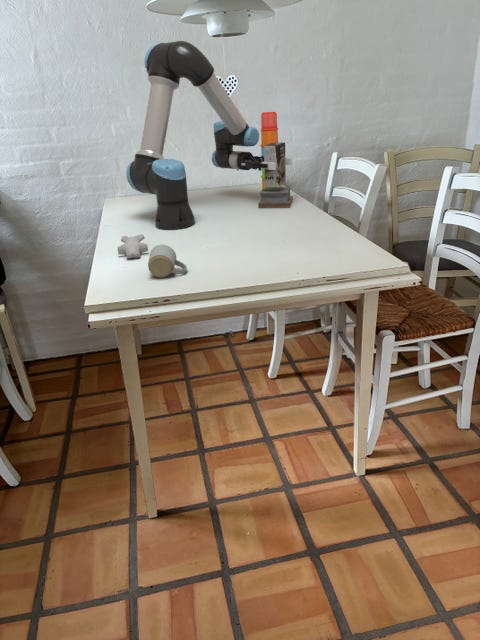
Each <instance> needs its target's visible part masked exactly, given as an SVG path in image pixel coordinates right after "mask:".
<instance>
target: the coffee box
mask: <svg viewBox="0 0 480 640" xmlns="http://www.w3.org/2000/svg"><path fill="white" fill-rule="evenodd" d="M285 158H286V142H278V143H270V144H267V145H265V146H264V162H274V163H276V170H269V169H265V186H268V187H279V186H281V187H282V185H284V184H286V183H287V178H286V177H287V175H286V174H287V173H286V166H287V165H286V163H285Z"/></svg>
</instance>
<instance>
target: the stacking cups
mask: <svg viewBox="0 0 480 640" xmlns="http://www.w3.org/2000/svg"><path fill="white" fill-rule="evenodd" d="M277 114H278V113H277V111H266V112H264V111H263V112H261V115H260V123H261V124H260V125H261V126H260V127H261V128H260V129H259V130H260V136H261V138H260V140H261V142H260V143H261V144H260V151H261V153H260V154H261V155H260V156H264V146H265V145H267V144H270V143H279V133H278V132H279V127H278V115H277ZM260 178H261V190H260V193H261V192H262V191H263V189H264V188H265V187H268V186H265V169H262V168H261V175H260ZM279 187H282V185H281V186H279Z"/></svg>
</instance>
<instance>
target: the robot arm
mask: <svg viewBox="0 0 480 640" xmlns="http://www.w3.org/2000/svg"><path fill="white" fill-rule="evenodd" d="M144 68H145V69H146V70H145V71H146V73H147V75H148V76H147V80H148V81H149V83H150V89H149V94H148V101H147V106H146V114H145V118H144V124H143V125H144V126H143V130H142V138H141V144H140V148H139V149H140V150H138V151H137V152H135V154H134V160H133V161H131V162H130V163H128V166H127V168H126V170H125V171H126V173H125V174H126V179H127V182H128V184H129V185H130V187H131V188H132V189H133V190H135V191H136V192H140V193H141V194H142V193H143V194H150V195H155V196H156V203H157V204H156V205H157V207H156V214H155V218H154V222H155V224H154V225H155V227H156V228H157V229H160V230H167V231H168V230H181V229H186V228H189V227H192V226H194V225H195V223H196V217H195V214H194V213H193V210H192V208H191V205H190V203H189V196H188V195H189V194H188V184H187V182H188V181H187V171H186V167H185V164H184V163H183V162H182V161H180V160H177V159H173V158H170V159H169V158H165V157H164V155H163V154H164V149H165V143H166V138H167V132H168V126H169V120H170V115H171V107H172V104H173V97H174V92H175V91H176V90H177V89H179V87H180V81H181V78H182V79H183V78H184V79H186V80H188V81H190V84H191V85H192V86H193V87H194V88H195V87H196V88H198V90H199V91H200V92H201V94H202V95H203V96H204V98H205V99H206V101H207V102H208V103H209V105H210V106H211V107H212V109H213V110H214V112H215V113H216V115H217V116H218V117H219V119H220V121H216V122H214V123H213V136H214V137H213V138H214V143H215V144H214V145H215V150H214V151H213V152H212V154H211V155H212V156H211V162H212V164H213V166H215V167H216V168H220V169H229V170H230V169H231V170H236V171H239V170H241V171H249V170H251V169H252V170H255V171H256V170H258V172H262V169H269V170H276V163H274V162H264V156H262V155H260V156H258V155H253V153H252V152H250V151H242V150H234V149H233V148H234V147H247V148H248V147H254V146H255V147H256V145H257V144H258V142H259V140H260V132H259V130H258V129H257V128H256V127H253V126H249V124H248V123H247V121H246V120H245V118H244V117H243V115H242V114H241V112H240V111H239V109H238V107H237V106H236V105H235V103H234V101H233V100H232V99H231V97H230V95H229V94H228V93H227V91H226V90H225V88H224V87H223V85H222V83H221V82H220V81H219V79H218V77H217V76H216V75H215V67H214V66H213V65H212V63H211V61H209V59H208V58H207V56H206V55H205V54H203V52H202V51H201V50H200V49H199V48H198V47H197V46H195V45H194V44H192V43H191V42H189V41H186V40H185V41H184V40H177V41H169V42H159V43H157V44H154V45H152V46H150V47H149V48H148V50H147V51H146V53H145V56H144ZM233 146H234V147H233ZM285 163H286V166H292V165H293V158H292V157H285Z"/></svg>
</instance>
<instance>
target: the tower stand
mask: <svg viewBox="0 0 480 640" xmlns="http://www.w3.org/2000/svg"><path fill="white" fill-rule="evenodd" d="M293 198H294V196H293V195H291V186H285V187H284V186H281V187H265V188H264V189H263V191H262V192H261V191H260V200H259V202H258V204H257V205H258V207H257V208H258V209H290V208H291V206H292V203H293V200H294V199H293Z"/></svg>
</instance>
